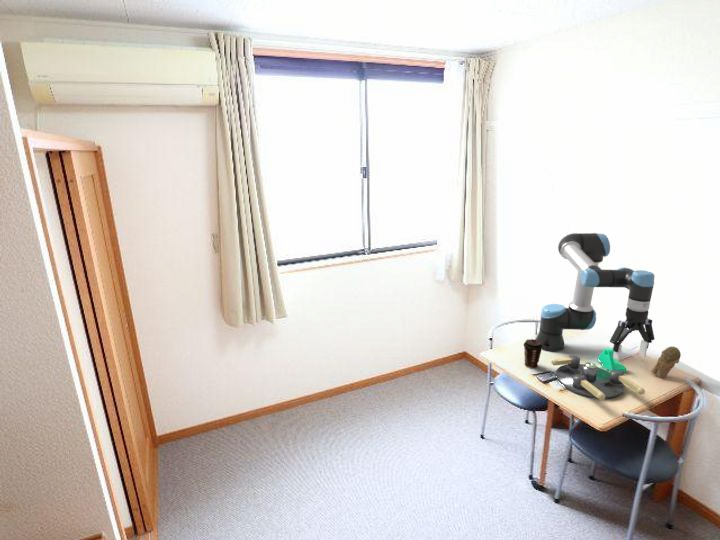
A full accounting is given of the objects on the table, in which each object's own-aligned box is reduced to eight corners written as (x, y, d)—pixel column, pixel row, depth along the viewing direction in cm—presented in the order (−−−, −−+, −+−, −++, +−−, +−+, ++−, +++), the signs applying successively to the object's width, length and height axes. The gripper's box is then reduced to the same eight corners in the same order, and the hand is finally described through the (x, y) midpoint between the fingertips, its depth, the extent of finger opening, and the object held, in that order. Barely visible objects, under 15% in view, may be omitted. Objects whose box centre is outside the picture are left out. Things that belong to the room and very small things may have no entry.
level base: (543, 370, 206) (545, 352, 203) (593, 364, 210) (596, 347, 208) (581, 402, 179) (584, 382, 177) (638, 395, 184) (642, 375, 181)
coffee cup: (533, 360, 216) (535, 337, 212) (544, 367, 208) (546, 344, 205) (518, 362, 214) (520, 339, 210) (529, 370, 206) (531, 346, 203)
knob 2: (606, 379, 192) (608, 369, 191) (616, 378, 193) (618, 368, 192) (637, 400, 176) (639, 390, 174) (647, 399, 177) (649, 389, 175)
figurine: (649, 374, 200) (654, 346, 196) (661, 370, 203) (666, 343, 199) (666, 382, 193) (672, 353, 189) (678, 379, 195) (685, 350, 191)
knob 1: (570, 383, 189) (571, 374, 188) (579, 382, 190) (581, 373, 189) (597, 406, 173) (598, 395, 171) (608, 404, 174) (609, 394, 172)
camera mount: (626, 373, 202) (630, 354, 199) (611, 374, 202) (614, 355, 199) (611, 361, 213) (614, 343, 211) (596, 362, 213) (599, 343, 210)
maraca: (574, 363, 207) (575, 354, 206) (581, 368, 203) (582, 359, 201) (548, 366, 205) (549, 357, 204) (554, 371, 200) (555, 362, 199)
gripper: (618, 314, 162) (610, 364, 168) (671, 309, 166) (661, 358, 172) (604, 307, 169) (597, 355, 175) (655, 303, 173) (646, 350, 179)
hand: (629, 357), depth 174 cm, fingers open, 12 cm apart
